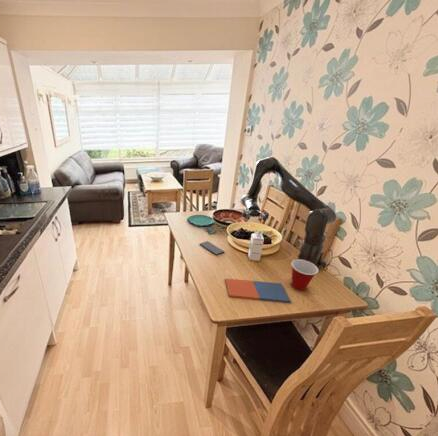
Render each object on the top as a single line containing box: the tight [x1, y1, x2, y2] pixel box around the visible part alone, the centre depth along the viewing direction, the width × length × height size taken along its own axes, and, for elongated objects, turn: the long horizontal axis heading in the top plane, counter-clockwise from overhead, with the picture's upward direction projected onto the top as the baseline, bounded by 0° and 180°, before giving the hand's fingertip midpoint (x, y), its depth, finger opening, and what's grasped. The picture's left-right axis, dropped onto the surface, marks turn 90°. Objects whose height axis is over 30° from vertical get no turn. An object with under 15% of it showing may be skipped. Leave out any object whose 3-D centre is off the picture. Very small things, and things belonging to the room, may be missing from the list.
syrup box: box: [247, 233, 265, 262], centre depth 134 cm, size 6×6×14 cm
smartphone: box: [199, 240, 225, 256], centre depth 147 cm, size 7×1×15 cm
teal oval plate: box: [186, 214, 227, 234], centre depth 178 cm, size 20×30×2 cm, turn 22°
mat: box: [224, 278, 292, 304], centre depth 112 cm, size 26×12×1 cm, turn 81°
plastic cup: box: [290, 258, 319, 291], centre depth 112 cm, size 11×11×12 cm
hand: (256, 218), depth 139 cm, fingers open, 8 cm apart
